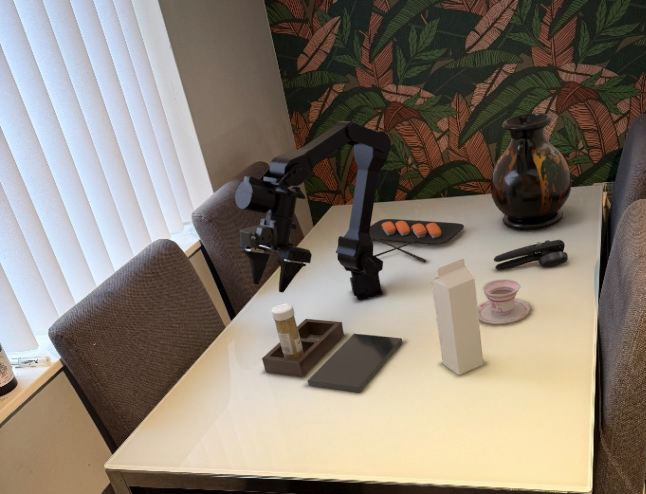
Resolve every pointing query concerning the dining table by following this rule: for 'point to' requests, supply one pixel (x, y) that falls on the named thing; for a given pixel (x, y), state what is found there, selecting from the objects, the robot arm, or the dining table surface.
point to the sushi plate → (413, 233)
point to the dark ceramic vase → (530, 176)
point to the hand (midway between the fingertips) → (268, 288)
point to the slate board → (355, 362)
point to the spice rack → (305, 348)
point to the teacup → (502, 303)
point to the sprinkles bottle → (287, 331)
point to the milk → (457, 317)
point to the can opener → (534, 255)
